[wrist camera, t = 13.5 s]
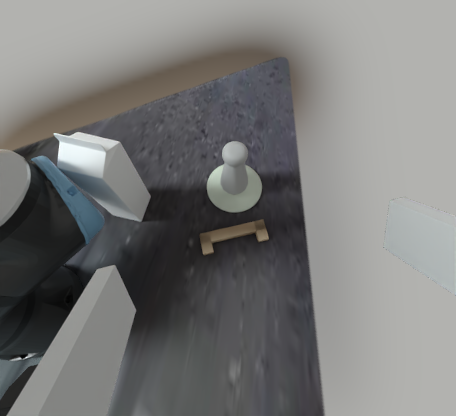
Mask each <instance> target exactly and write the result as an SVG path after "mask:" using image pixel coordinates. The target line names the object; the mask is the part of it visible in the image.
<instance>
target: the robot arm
mask: <svg viewBox="0 0 456 416" xmlns="http://www.w3.org/2000/svg"><path fill="white" fill-rule="evenodd" d="M103 225H104V217H103V215H102V214H101V213H100V212H99V211H98V210H97V209H96V208H95V206H94V205H93V204H92V203H91V202H90V201H89V200H88V199H87V198H86V197H85V196H84V195H83V194H82V193H81V192H80V191H79V190H78V189H77V188H76V187H75V186H74V185H73V184H72V183H71V182H70V181H69V179H68V178H67V177H66V176H65V175H64V174H63V173H62V172H61V171H60V170H59V169H58V168H57V167H56V166H55V165H54V164H53V163H52V162H51V161H50V160H49V159H48V158H47V157H45V156H39V157H37V158H32V159H31V161H30V162H29V161H27V160H26V159H24V158H23V157H22V156H20V155H18V154H17V153H15V152H13V151H9V150H2V149H0V359H1V360H8V361H20V360H26V359H30V358H33V357H37V356H40V355H43V354H44V356H43V358H42V359H41V361H40V362H39V364H37V365H34V366H30V367H28V368H27V369H26V370H25V371H24V372H23V373H22V374H21V375H20V377H19V378H18V379H17V380H16V381H15V382H14V383H13V384H12V385H11V386H10V387H9V388H8V390H7V391H6V393H5V394H4V396H3V397H2V399H1V400H0V416H107V412H108V409H109V405H110V402H111V398H112V395H113V391H114V387H115V384H116V380H117V377H118V373H119V370H120V366H121V363H122V359H123V355H124V352H125V348H126V345H127V341H128V338H129V334H130V330H131V327H132V323H133V320H134V316H135V313H136V309H135V307H134V305H133V302H132V300H131V298H130V296H129V294H128V292H127V289H126V287H125V285H124V283H123V281H122V279H121V277H120V274H119V272H118V270H117V268H116V266H115V265H112V266H108V267H104V268H100V269H97V270H96V272H95V273H94V275H93V277H92V278H91V280H90V282H89V283H88V285H87V286H86V288H85V290H84V291H83V287H82V284H81V282H80V280H79V278H78V276H77V275H76V274H75V273H74V272H73V271H71V270H70V269H68V268H66V267H63V266H62V265H64V264H65V263H66V262H67V261H68V260H69V259H71V258H72V257H73V256H74V255H75V254H76V253H77V252H79V251H80V250H81V249H82V248H83V247H84V246H86V245H87V244H89V242H90V240H91V239H92V238H93V237H94V236H95V235H96V234H97V233H98V232H99V231H100V230H101V229H102V227H103ZM384 248H385V249H386V250H388V251H389V252H391V253H393V254H394V255H395V256H397V257H398V258H400V259H402V260H403V261H404V262H406V263H407V264H409V265H410V266H412V267H413V268H415V269H417V270H418V271H419V272H421V273H423V274H424V275H425V276H427V277H428V278H430V279H432V280H433V281H434V282H436V283H437V284H439V285H441V286H442V287H443V288H445V289H447V290H448V291H450V292H451V293H453V294H454V295H456V216H455V215H452V214H450V213H447V212H444V211H441V210H439V209H436V208H433V207H430V206H427V205H424V204H422V203H419V202H416V201H414V200H411V199H408V198H405V197H401V198H397V199H393V200H390V201H389V208H388V216H387V224H386V231H385V240H384Z"/></svg>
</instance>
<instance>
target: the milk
mask: <svg viewBox="0 0 456 416" xmlns="http://www.w3.org/2000/svg"><path fill="white" fill-rule="evenodd" d="M54 136H55V137H56V138H57V139H58V140H59V141H60V144H59V154H58V163H57V168H58V169H59V170H60V171H61V172H63V173H64V174H65V175H66V176H67V177H69V178H70V179H71V180H72V181H73V182H74V183H76V184H77V185H78V186H79V187H80V188H82V189H83V190H84V191H85V192H86V193H88V194H89V195H90V196H91V197H92V198H93V199H95V200H96V201H97V202H98V203H99V204H101V205H102V206H103V207H104V208H105V209H107V210H108V211H109V212H110V213H111V214H113V215H114V216H118V217H123V218H127V219H131V220H136V221H140V222H142V219H143V216H144V214H145V211H146V208H147V206H148V203H149V200H150V198H151V196H150V194H149V192H148V191H147V189H146V187H145V185H144V183H143V182H142V180H141V178H140V176H139V175H138V173H137V171H136V169H135V168H134V166H133V164H132V162H131V160H130V159H129V157H128V155H127V153H126V152H125V150H124V148H123V146H122V145H121V143H120V142H118V141H114V140H110V139H106V138H101V137H97V136H93V135H89V134H85V133H80V132H77V133H75V134H73V135H71V136H65V135H60V134H56V133H54Z"/></svg>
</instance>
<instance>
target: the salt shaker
mask: <svg viewBox="0 0 456 416" xmlns="http://www.w3.org/2000/svg"><path fill="white" fill-rule="evenodd" d="M222 156H223V160H224V162H225V163H224V167H223V171H222V174H221V180H220V184H221V186H222V188H223V190H224V191H226V192H227V193H229V194H232V195H236V194H239V193H241V192H243V191H244V190H245V189H246V187H247V185H248V176H247V171H246V166H245V162H246V160H247V157H248V151H247V148H246V146H245V145H244V144H242V143H241V142H237V141H233V142H229V143H228V144H226V145H225V147H224V148H223V151H222Z"/></svg>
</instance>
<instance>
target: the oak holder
mask: <svg viewBox="0 0 456 416" xmlns="http://www.w3.org/2000/svg"><path fill="white" fill-rule="evenodd" d="M253 233H256V237H257V240H258V242H262V241H267V240H268V239H269V237H268V233H267V230H266V227H265V224H264V221H263V219H262V220H258V221H254V222H249V223H245V224H241V225H236V226H232V227H227V228H223V229H219V230H214V231H210V232H205V233H201V234H199V235H200V241H201V246H202V251H203V255H208V254H212V253H214V251H213V246H212V243H215V242H219V241H223V240H228V239H232V238H236V237H241V236H245V235H249V234H253Z"/></svg>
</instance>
